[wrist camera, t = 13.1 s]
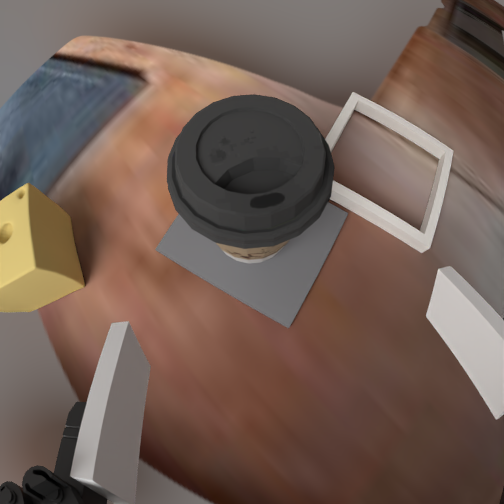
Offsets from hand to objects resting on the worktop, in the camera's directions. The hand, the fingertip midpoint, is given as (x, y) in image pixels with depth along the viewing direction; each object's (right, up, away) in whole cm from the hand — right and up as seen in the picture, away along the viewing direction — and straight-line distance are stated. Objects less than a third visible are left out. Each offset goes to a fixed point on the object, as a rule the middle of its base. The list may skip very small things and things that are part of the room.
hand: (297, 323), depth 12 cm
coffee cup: (-2, +5, +20) cm, 21 cm away
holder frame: (+15, +13, +23) cm, 31 cm away
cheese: (-27, +1, +20) cm, 34 cm away
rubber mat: (-2, +5, +21) cm, 21 cm away
